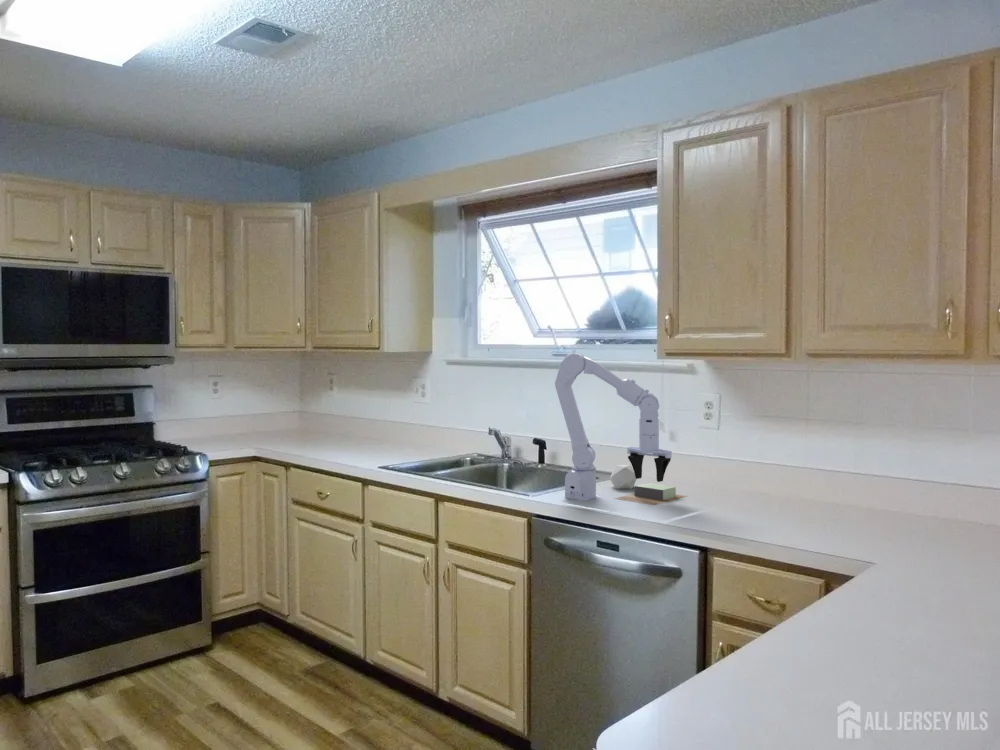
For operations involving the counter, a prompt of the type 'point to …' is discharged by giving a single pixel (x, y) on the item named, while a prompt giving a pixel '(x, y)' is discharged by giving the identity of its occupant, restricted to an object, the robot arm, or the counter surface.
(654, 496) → the sage slab
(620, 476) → the die
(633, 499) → the walnut board
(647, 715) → the counter surface
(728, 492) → the counter surface
